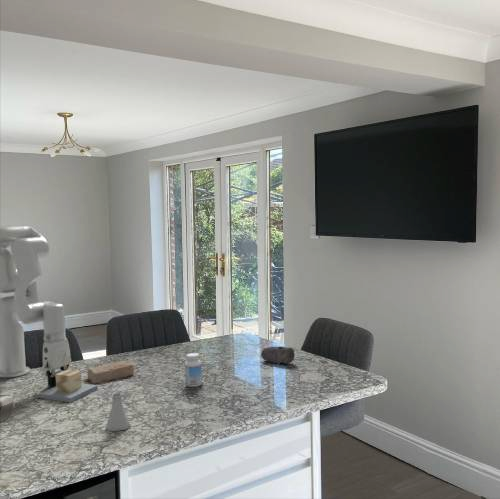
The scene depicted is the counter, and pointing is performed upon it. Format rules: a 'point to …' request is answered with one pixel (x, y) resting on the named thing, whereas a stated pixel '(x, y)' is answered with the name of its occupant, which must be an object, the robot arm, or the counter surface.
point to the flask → (117, 415)
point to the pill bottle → (193, 370)
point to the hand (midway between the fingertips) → (57, 383)
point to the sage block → (55, 374)
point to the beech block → (68, 381)
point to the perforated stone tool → (278, 355)
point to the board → (67, 396)
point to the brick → (110, 371)
